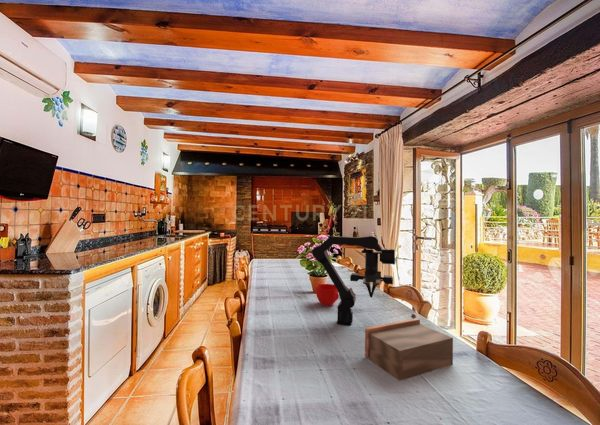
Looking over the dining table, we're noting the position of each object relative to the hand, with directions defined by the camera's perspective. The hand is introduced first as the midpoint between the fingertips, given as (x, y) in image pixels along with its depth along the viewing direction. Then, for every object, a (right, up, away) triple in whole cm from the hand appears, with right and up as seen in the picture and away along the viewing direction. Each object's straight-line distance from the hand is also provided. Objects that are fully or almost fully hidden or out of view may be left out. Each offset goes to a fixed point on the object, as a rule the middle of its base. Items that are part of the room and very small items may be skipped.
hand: (371, 297), depth 131 cm
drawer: (+5, -12, -31) cm, 34 cm away
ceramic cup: (-16, -13, +30) cm, 36 cm away
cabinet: (+5, -13, -33) cm, 36 cm away
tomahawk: (+24, -14, +4) cm, 29 cm away
